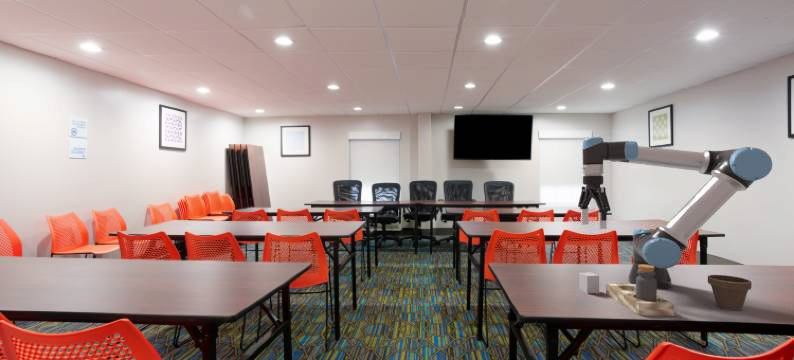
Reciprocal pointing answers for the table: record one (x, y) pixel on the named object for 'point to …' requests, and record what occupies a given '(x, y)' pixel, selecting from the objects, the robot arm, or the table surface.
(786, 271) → the table surface
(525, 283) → the table surface
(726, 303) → the flower pot
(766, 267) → the table surface
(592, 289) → the square bit
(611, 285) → the bore block
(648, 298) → the bottle
